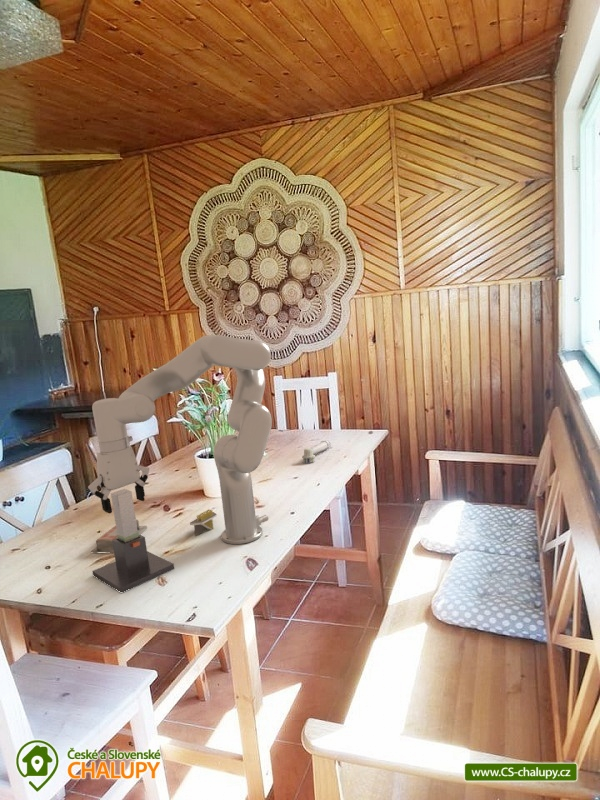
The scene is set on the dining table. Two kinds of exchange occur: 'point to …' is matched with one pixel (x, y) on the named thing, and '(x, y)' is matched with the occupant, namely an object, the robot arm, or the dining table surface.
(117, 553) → the stand housing
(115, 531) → the packaged product
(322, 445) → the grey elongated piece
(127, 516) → the column
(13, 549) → the dining table surface
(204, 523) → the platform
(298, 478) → the dining table surface
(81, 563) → the dining table surface
